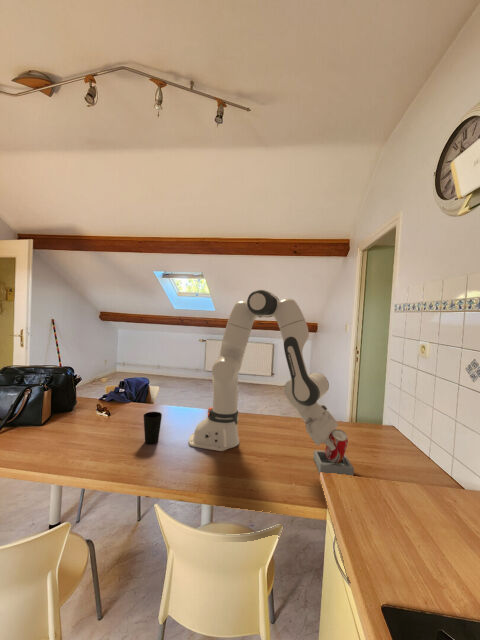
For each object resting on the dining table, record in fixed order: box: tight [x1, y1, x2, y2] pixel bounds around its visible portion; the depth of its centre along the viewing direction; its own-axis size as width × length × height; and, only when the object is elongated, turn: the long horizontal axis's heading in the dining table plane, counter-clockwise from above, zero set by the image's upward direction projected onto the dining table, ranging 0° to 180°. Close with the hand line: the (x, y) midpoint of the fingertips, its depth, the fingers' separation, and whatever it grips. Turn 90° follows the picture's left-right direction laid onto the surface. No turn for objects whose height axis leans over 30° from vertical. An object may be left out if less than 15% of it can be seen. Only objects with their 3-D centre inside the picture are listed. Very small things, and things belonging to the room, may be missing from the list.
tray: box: [313, 449, 355, 476], centre depth 113 cm, size 12×12×4 cm
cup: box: [143, 411, 163, 446], centre depth 128 cm, size 8×8×12 cm
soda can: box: [324, 428, 349, 463], centre depth 113 cm, size 7×7×12 cm
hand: (337, 445), depth 112 cm, fingers closed on soda can, 5 cm apart
